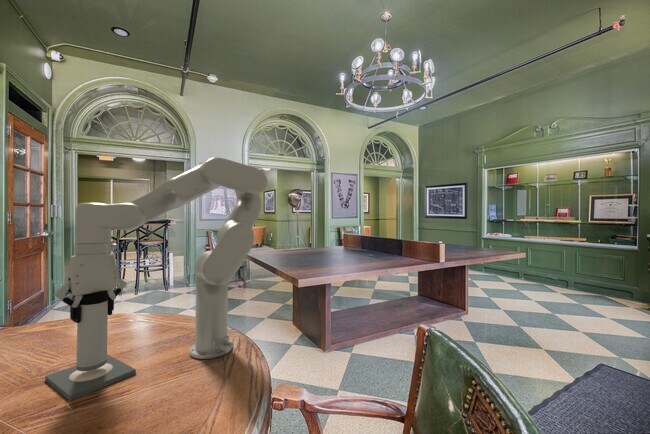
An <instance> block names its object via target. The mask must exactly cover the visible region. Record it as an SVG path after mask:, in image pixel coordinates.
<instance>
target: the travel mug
mask: <svg viewBox="0 0 650 434" xmlns="http://www.w3.org/2000/svg"><path fill="white" fill-rule="evenodd" d="M107 297H108V291H107V290H106V291H105V292H99V293H93V294H87V295H83V297H82V299H81V300H80V302H79V306H80V307H81V322H79V323H76V324H77V325H76V365H75V366H76V369H77V370H78V371H90V370H94V369H97V368H100V367H102V366H103V365H105V364H106V362H107V355H108V325H109V324H108V319H109V318H108V317H109V315H108V303H107V302H108V298H107Z"/></svg>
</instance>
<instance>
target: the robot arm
mask: <svg viewBox="0 0 650 434" xmlns="http://www.w3.org/2000/svg"><path fill="white" fill-rule="evenodd" d="M219 187H224V188H227V189H231V190H234V193H235V195H236V203H235V205H234V207H233V209H232V211H231V212H230V214H229V215H228V217H227V218H226V219H225V221H224V222H223V224H222V225H221V227H219V230H218V231H217V233H216V242H217V244H215V246H214V248H213V249H212V250H207V251H204V252H202V253H201V254H199V256H198V257H197V259H196V261H195V264H194V278H195V322H194V323H195V327H194V328H195V333H194V334H195V336H194V337H195V338H194V340H195V342H194V344H193V345H192V346H191V347H190V348H189V355H190V356H191V357H192V358H194V359H197V360H198V359H200V360H207V359H208V360H210V359H214V358H218V357H221V356H225V355H227V354H228V353H230V351H231V350H232V349H233V348H234V343H233V342H232V341H230V336H229V335H228V318H229V317H228V314H229V313H228V309H229V308H228V307H229V305H228V303H229V301H228V300H229V289H228V283H230V281H232V279H233V278H234V277H235V275H236V274H237V272H238V271H239V269H240V268H241V266H242V264H243V262H244V261H245V260H246V258H247V256H248V255H249V253H250V252H251V250H252V248H253V246H254V241H255V234H254V231H253V227H254V226H255V224H256V222H257V220H258V218H259V216H260V214H261V212H262V200H261V194H262V193H263V192H264V191H265V190H266V189H267V187H268V177H267V176H266V174H265V173H264V172H263V170H261V169H259V168H257V167H254V166H251V165H248V164H245V163H244V164H243V163H241V162H237V161H234V160H230V159H227V158H223V157H217V156H215V157H211V158H209V159H207V160H206V161H205V162H203V163H202V164H199V165H197V166H195V167H193V168H192V169H189V170H187V171H185V172H183V173H181V174H179V175H176V176H174V177H171V178H169V179H168V180H166V181H164V182H163V183H162V184H160V185H159V186H158V187H157V188H155V189H154V190H152V191H150V192H148V193H147V194H144V195H142V196H141V197H138V198H136V199H134V200H132V201H130V202H123V203H103V202H80V203H78V204H77V206H76V208H75V228H74V229H75V235H74V236H75V237H74V238H75V239H74V243H75V244H74V245H75V246H74V248H75V249H74V255H70V258H69V262H68V267H67V272H66V278H65V279H66V280H65V283H64V284H63V285H62V286H61V287H60V288H59V289H57V290H56V291H55V292H54V293H53V297H55V298H56V299H58V300H60V301H61V302H63V303H64V304H66V305H68V306H69V308H70V309H69V312H70V313H69V318H70V320H71V321H72V322H74V323H76V324H77V323H79V322H81V307H80V306H79V302H80V300H81V299H82V297H83V295H87V294H93V293H99V292H105V291H106V290H107V291H108V297H107V298H108V302H107V303H108V316H112V315H113V312H114V310H115V300H116V298H117V296H119V295H120V293H121V292H122V290H123V289H125V287H126V286H127V285H128V283H127V282H126V281H124V279H122V278H121V277H119V276H118V267H117V262H116V256H115V254H114V252H113V250H116V249H118V245H117V244H116V243H113V242H112V239H113V238H112V236H113V235H112V234H113V233H112V232H113V231H112V230H119V231H134V230H137V229H138V228H140V227H141V226H143V225H145V224H147V223H148V222H151V221H152V220H154V219H156V218H158V217H160V216H162V215H164V214H167V212H170V211H173V210H175V209H178V208H181V207H183V206H185V205H187V204H189V203H191V202H193V201H195V200H197V199H199V198H200V197H202V196H204V195H206V194H208V193H210V192H211V191H213V190H215V189H217V188H219ZM112 252H113V253H112ZM66 293H67V294H68V295H69V294H70V295H71V296H70V297H68V296H67V295H66Z"/></svg>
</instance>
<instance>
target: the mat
mask: <svg viewBox="0 0 650 434" xmlns="http://www.w3.org/2000/svg"><path fill="white" fill-rule="evenodd" d="M136 372H137V369H136V368H134V367H132V366H131V365H128V364H126V363H125V362H123V361H121V360H119V359H118V358H115V357H113V356H112V355H110V354H107V362H106V364H105V365H103V366H102V367H100V368H97V369H94V370H90V371H78V370H77V369H76V365H74V366H71V367H68V368H65V369H64V368H63V370H62V369H61V370H59V371H56V372H52V373H50V374H46V375H45V378H44V379H45V380H44V381H45V382H46V383H48V385H50V386H51V387H52V388H54V389H55V390H56V391H57V392H58V393H59V394H60V395H62V396H63V397H64V398H65V399H67V400H68V401H69V402H71V401H73V400H76V399H78V398H81V397H83V396H85V395H88V394H90V393H93V392H96V391H97V390H98V391H99V390H100V389H102V388H105V387H108V386H109V385H113V384H114V383H117V382H119V381H122V380H124V379H126V378H129V377H132V376H133V375H136V374H137V373H136Z"/></svg>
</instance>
